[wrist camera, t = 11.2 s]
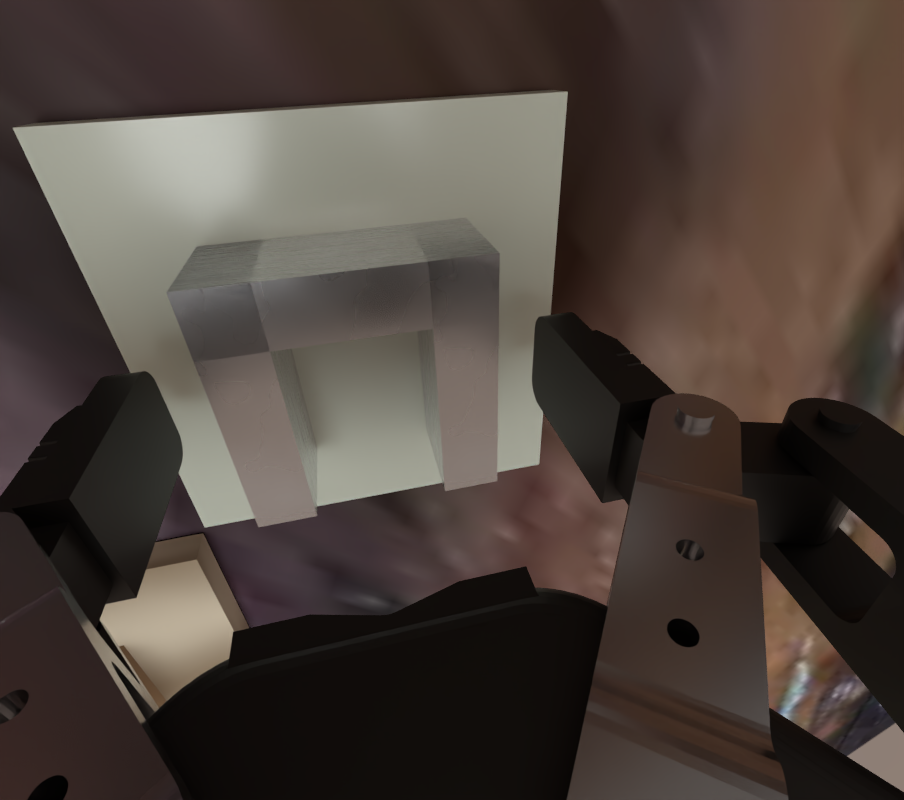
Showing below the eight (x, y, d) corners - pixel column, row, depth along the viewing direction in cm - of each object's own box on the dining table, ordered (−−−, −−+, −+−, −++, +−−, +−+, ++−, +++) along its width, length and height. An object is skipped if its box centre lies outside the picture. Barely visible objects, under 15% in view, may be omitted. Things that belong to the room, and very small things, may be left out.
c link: (196, 246, 10) (166, 292, 8) (465, 217, 11) (499, 252, 9) (267, 456, 13) (258, 527, 11) (471, 421, 14) (497, 481, 12)
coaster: (34, 122, 9) (12, 128, 8) (552, 90, 11) (567, 91, 10) (209, 507, 15) (204, 527, 14) (530, 448, 16) (538, 464, 16)
